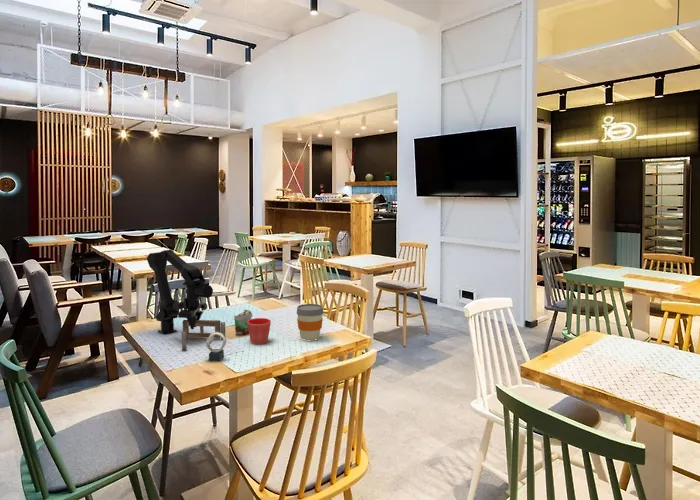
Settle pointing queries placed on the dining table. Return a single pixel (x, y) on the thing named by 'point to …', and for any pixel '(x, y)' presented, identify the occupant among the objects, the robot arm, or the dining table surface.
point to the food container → (242, 322)
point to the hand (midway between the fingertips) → (193, 328)
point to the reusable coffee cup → (309, 321)
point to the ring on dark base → (215, 353)
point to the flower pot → (259, 330)
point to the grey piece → (184, 341)
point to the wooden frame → (202, 323)
